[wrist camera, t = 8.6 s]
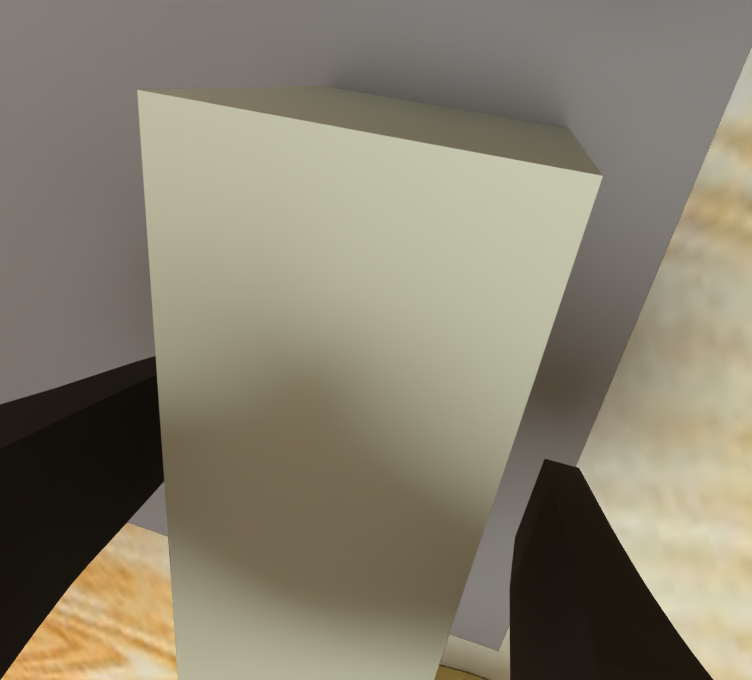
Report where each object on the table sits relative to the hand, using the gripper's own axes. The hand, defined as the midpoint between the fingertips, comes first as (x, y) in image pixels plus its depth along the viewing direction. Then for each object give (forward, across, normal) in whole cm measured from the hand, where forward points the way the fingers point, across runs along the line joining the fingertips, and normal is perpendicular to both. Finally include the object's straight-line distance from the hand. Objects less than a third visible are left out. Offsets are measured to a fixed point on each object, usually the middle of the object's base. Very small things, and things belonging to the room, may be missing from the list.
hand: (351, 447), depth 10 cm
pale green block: (+3, 0, 0) cm, 4 cm away
